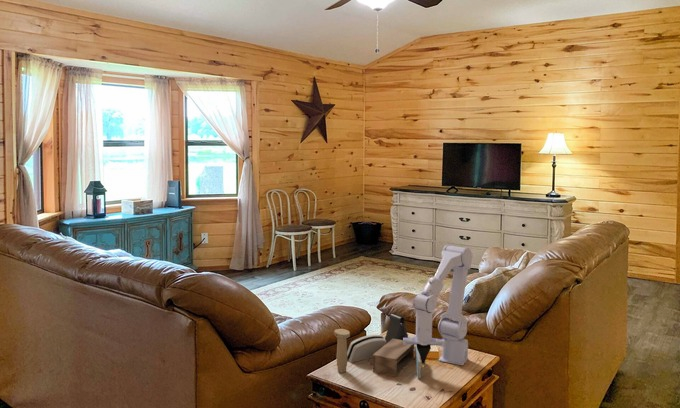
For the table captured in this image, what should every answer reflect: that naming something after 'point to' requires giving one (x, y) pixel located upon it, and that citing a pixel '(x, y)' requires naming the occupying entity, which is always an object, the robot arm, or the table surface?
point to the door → (418, 363)
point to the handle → (342, 349)
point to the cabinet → (393, 357)
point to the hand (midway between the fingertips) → (423, 364)
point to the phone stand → (396, 328)
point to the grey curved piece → (365, 347)
